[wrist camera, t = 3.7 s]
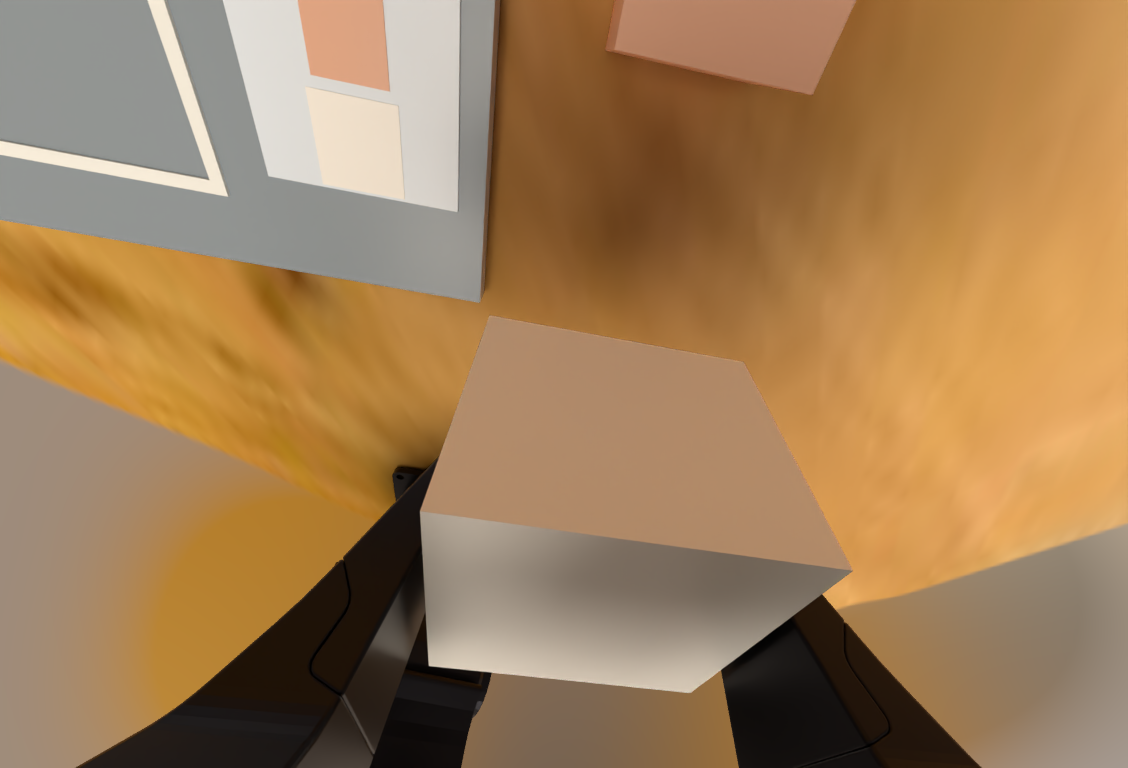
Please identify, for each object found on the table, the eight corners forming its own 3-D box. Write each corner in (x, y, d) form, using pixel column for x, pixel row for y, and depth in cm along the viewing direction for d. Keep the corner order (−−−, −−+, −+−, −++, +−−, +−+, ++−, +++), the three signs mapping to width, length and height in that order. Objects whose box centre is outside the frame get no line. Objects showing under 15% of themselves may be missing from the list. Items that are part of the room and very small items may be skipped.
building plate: (484, 292, 19) (479, 304, 18) (15, 210, 17) (-16, 218, 16) (512, -208, 10) (505, -233, 9) (-428, -470, 9) (-543, -529, 8)
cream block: (658, 506, 13) (690, 693, 9) (475, 480, 13) (428, 666, 9) (743, 361, 10) (852, 570, 6) (489, 315, 9) (420, 511, 5)
